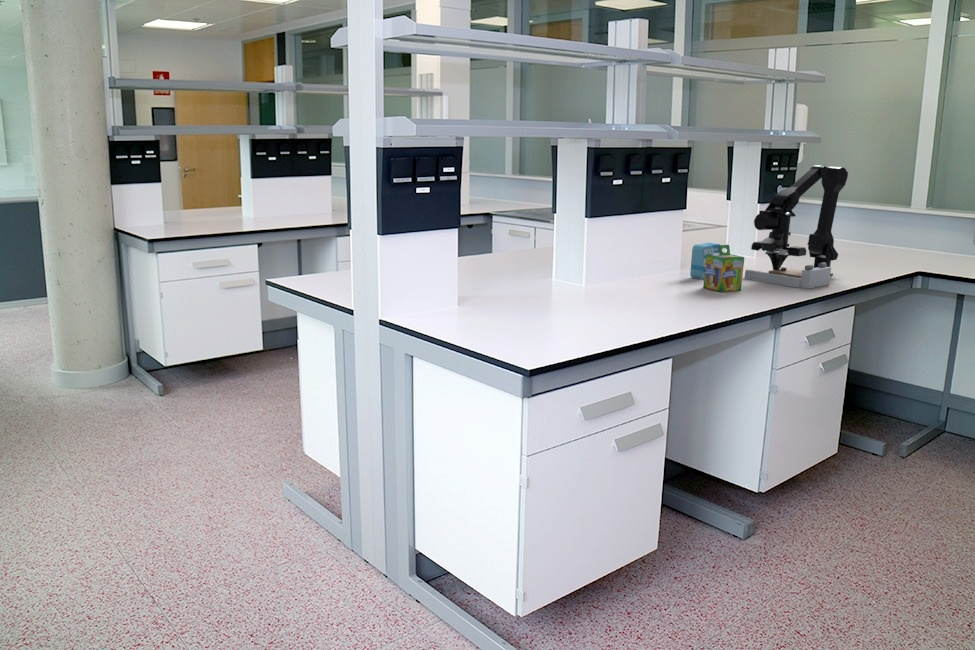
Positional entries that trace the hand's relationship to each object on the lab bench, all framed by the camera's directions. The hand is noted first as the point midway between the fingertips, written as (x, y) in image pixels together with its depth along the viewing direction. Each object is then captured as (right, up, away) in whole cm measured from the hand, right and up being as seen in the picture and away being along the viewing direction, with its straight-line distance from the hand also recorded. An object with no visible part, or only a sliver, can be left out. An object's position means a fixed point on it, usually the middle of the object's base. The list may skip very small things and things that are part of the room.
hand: (775, 272), depth 287 cm
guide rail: (-4, -4, -7) cm, 9 cm away
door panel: (+4, -4, -6) cm, 8 cm away
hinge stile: (+9, -5, -12) cm, 16 cm away
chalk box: (-26, -7, -21) cm, 34 cm away
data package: (-26, -2, 0) cm, 26 cm away
